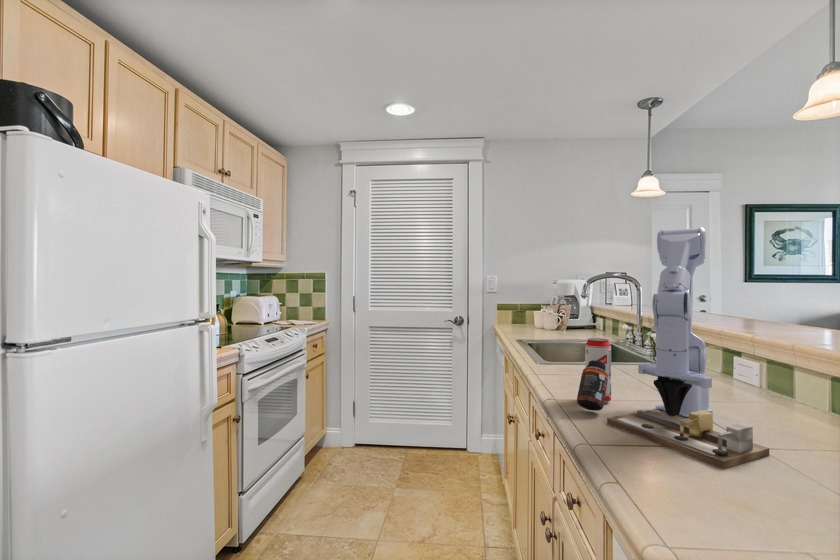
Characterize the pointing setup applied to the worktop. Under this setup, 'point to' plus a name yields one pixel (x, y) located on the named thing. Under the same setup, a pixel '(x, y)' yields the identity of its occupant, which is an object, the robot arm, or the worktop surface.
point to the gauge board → (694, 438)
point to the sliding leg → (698, 423)
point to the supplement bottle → (593, 386)
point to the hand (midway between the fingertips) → (672, 415)
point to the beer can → (600, 358)
